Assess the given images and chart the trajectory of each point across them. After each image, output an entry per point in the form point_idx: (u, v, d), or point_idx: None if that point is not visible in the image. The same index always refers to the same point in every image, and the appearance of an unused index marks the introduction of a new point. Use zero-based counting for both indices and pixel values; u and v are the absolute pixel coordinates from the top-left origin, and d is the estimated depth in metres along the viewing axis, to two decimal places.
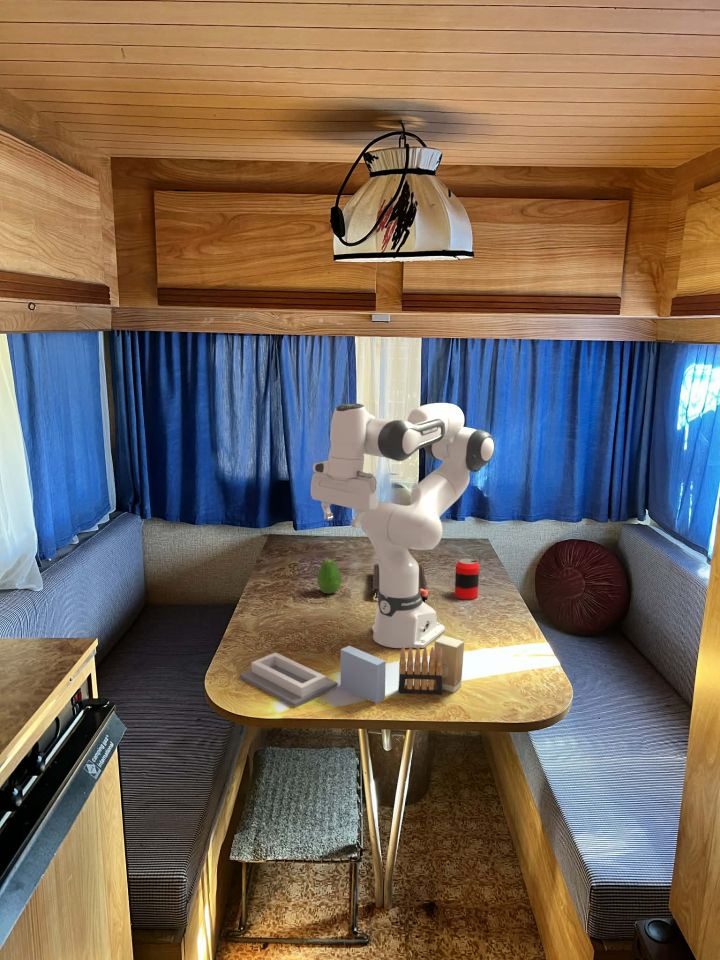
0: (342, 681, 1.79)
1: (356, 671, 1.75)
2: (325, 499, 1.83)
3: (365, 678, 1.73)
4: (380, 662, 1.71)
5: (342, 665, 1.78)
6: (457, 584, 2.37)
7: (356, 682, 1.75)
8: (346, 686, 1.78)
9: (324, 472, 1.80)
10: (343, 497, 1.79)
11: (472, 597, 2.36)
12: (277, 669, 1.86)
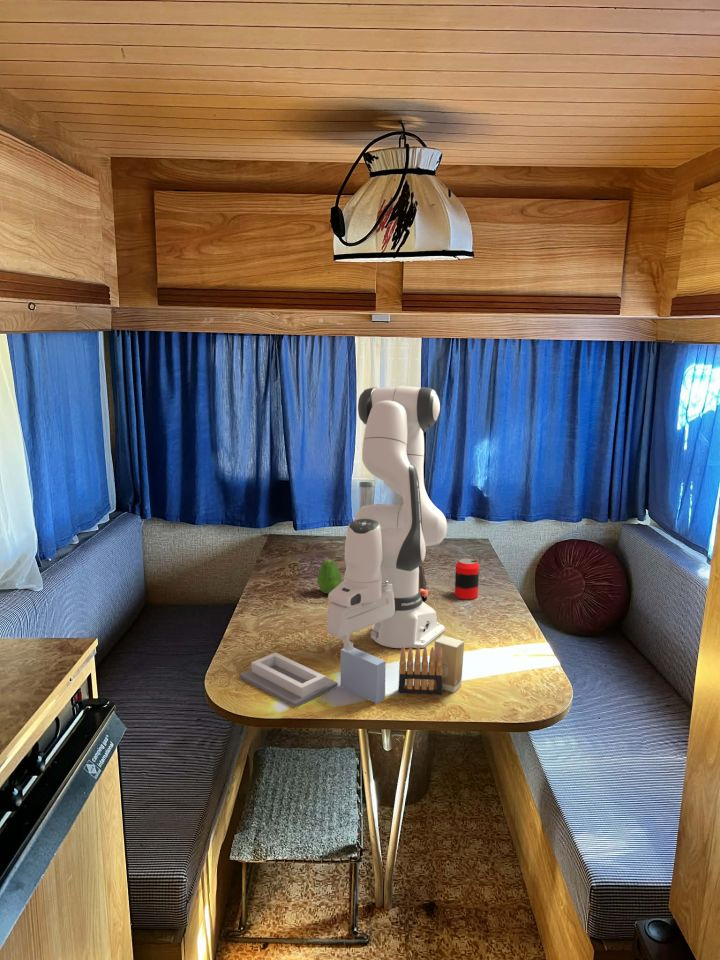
0: (341, 681, 1.79)
1: (356, 671, 1.75)
2: (355, 629, 1.68)
3: (365, 678, 1.73)
4: (380, 662, 1.71)
5: (342, 665, 1.78)
6: (457, 584, 2.37)
7: (356, 682, 1.75)
8: (346, 686, 1.78)
9: (363, 601, 1.66)
10: (372, 616, 1.72)
11: (472, 597, 2.36)
12: (277, 669, 1.86)
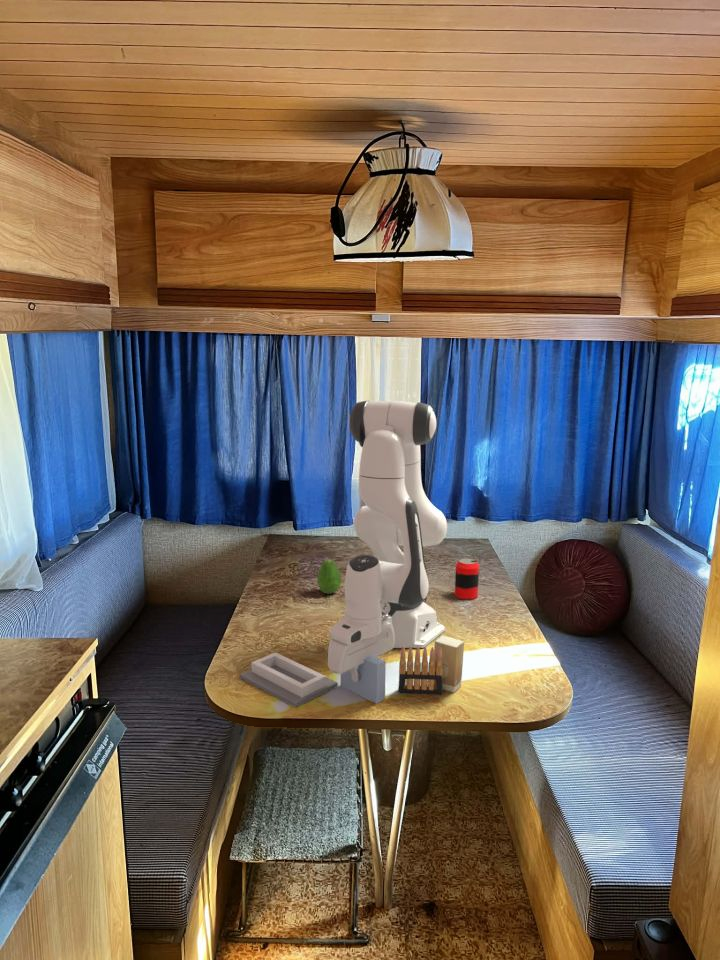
0: (342, 681, 1.79)
1: None
2: (355, 664, 1.70)
3: (365, 678, 1.73)
4: (380, 662, 1.71)
5: None
6: (457, 584, 2.37)
7: (356, 682, 1.75)
8: (346, 686, 1.78)
9: (363, 638, 1.68)
10: (372, 650, 1.74)
11: (472, 597, 2.36)
12: (277, 669, 1.86)
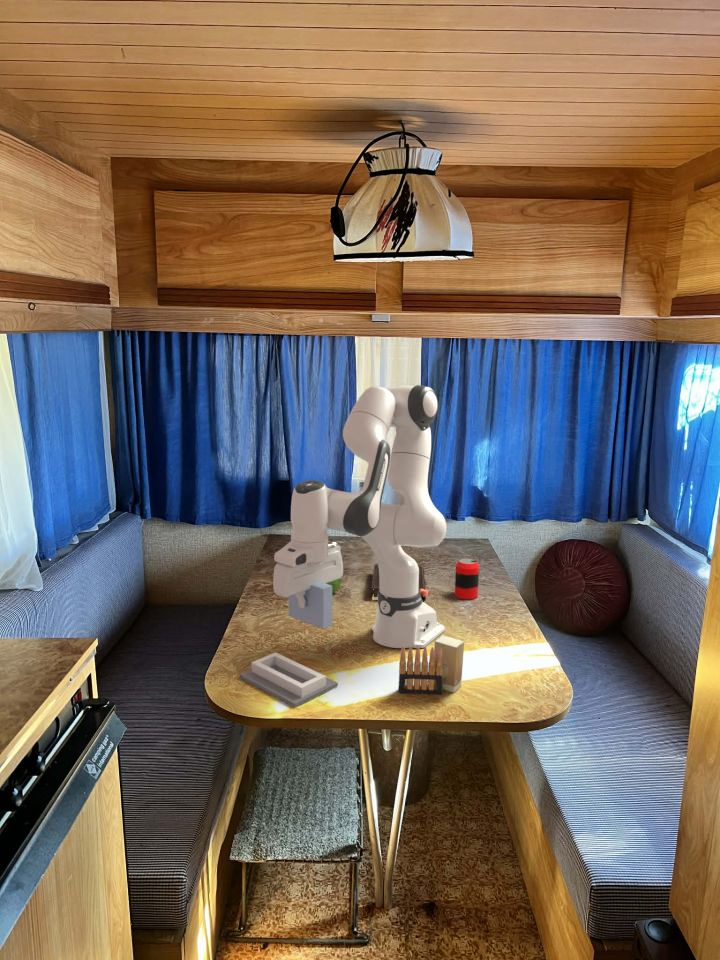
0: (290, 610, 1.78)
1: None
2: (301, 589, 1.69)
3: (312, 604, 1.72)
4: (327, 586, 1.70)
5: None
6: (457, 584, 2.37)
7: (304, 609, 1.74)
8: (294, 614, 1.77)
9: (308, 561, 1.67)
10: (319, 577, 1.73)
11: (472, 597, 2.36)
12: (277, 669, 1.86)
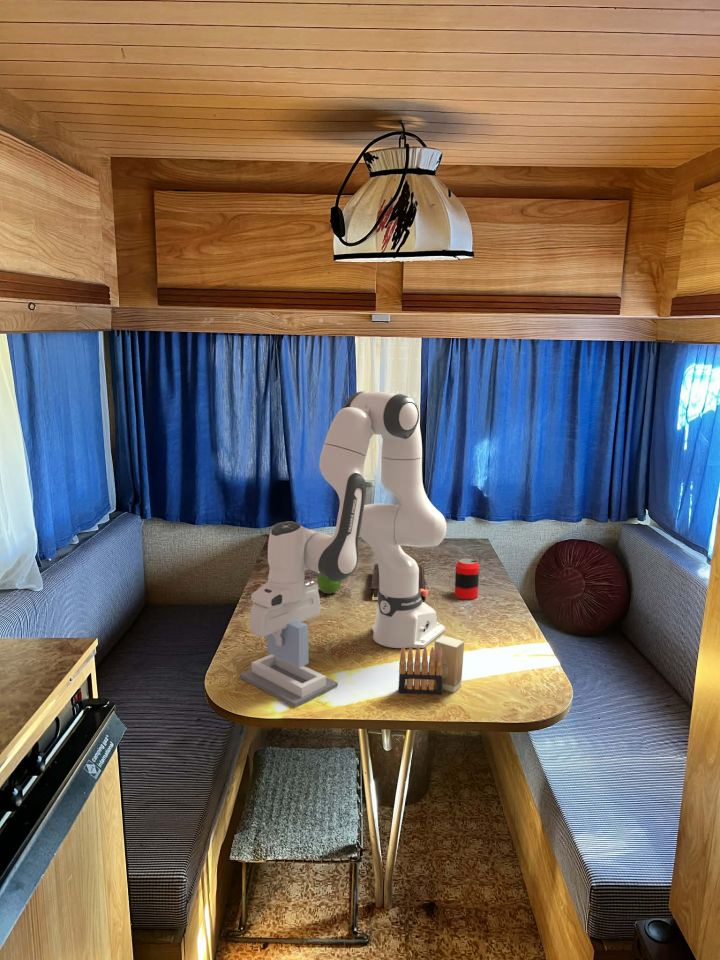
0: (268, 647, 1.82)
1: None
2: (278, 628, 1.73)
3: (288, 642, 1.76)
4: (303, 626, 1.74)
5: None
6: (457, 584, 2.37)
7: (281, 647, 1.78)
8: (272, 651, 1.81)
9: (284, 602, 1.71)
10: (296, 616, 1.77)
11: (472, 597, 2.36)
12: (277, 669, 1.86)
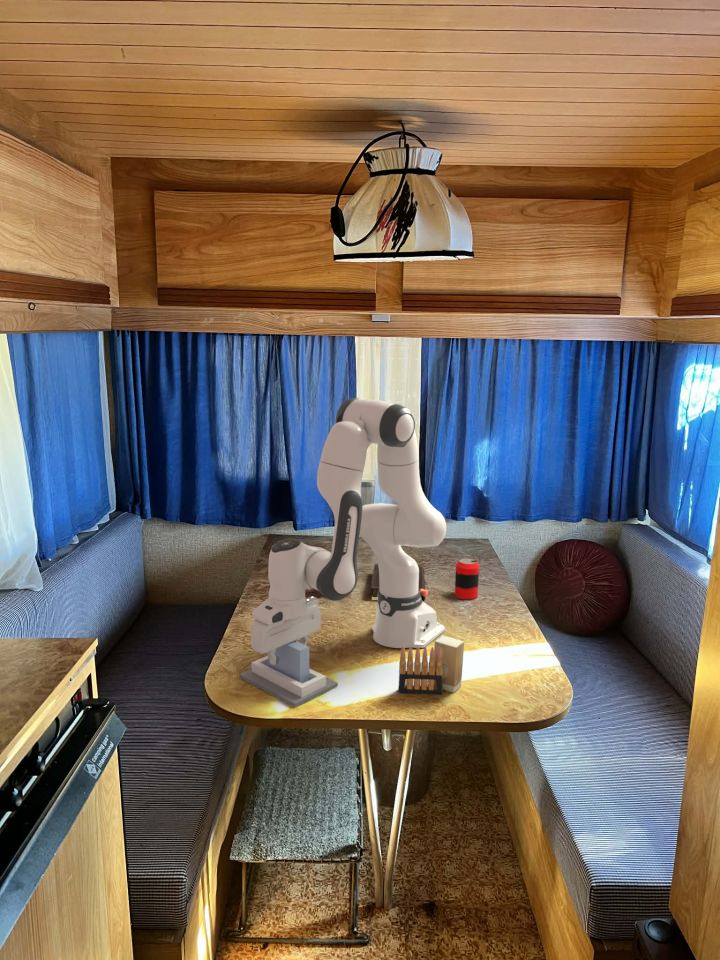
0: None
1: (281, 657, 1.79)
2: (279, 644, 1.74)
3: (289, 663, 1.77)
4: (303, 648, 1.75)
5: None
6: (457, 584, 2.37)
7: (282, 668, 1.80)
8: None
9: (285, 618, 1.72)
10: (297, 631, 1.78)
11: (472, 597, 2.36)
12: None
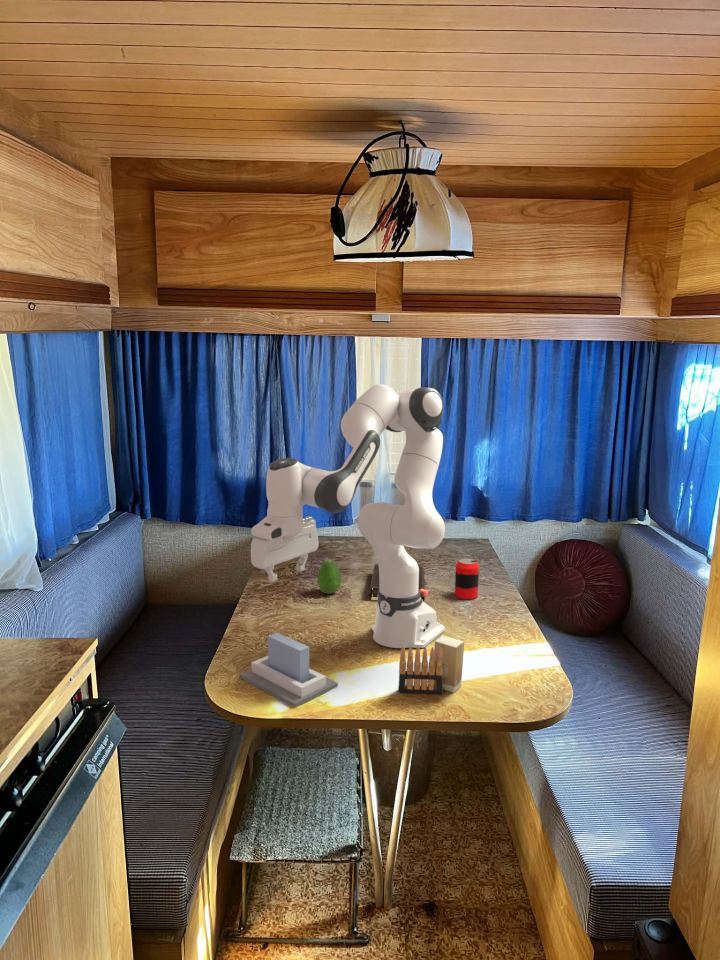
0: None
1: (281, 657, 1.79)
2: (278, 561, 1.79)
3: (289, 663, 1.77)
4: (303, 648, 1.75)
5: (269, 651, 1.82)
6: (457, 584, 2.37)
7: (282, 668, 1.80)
8: None
9: (284, 534, 1.76)
10: (295, 549, 1.83)
11: (472, 597, 2.36)
12: None
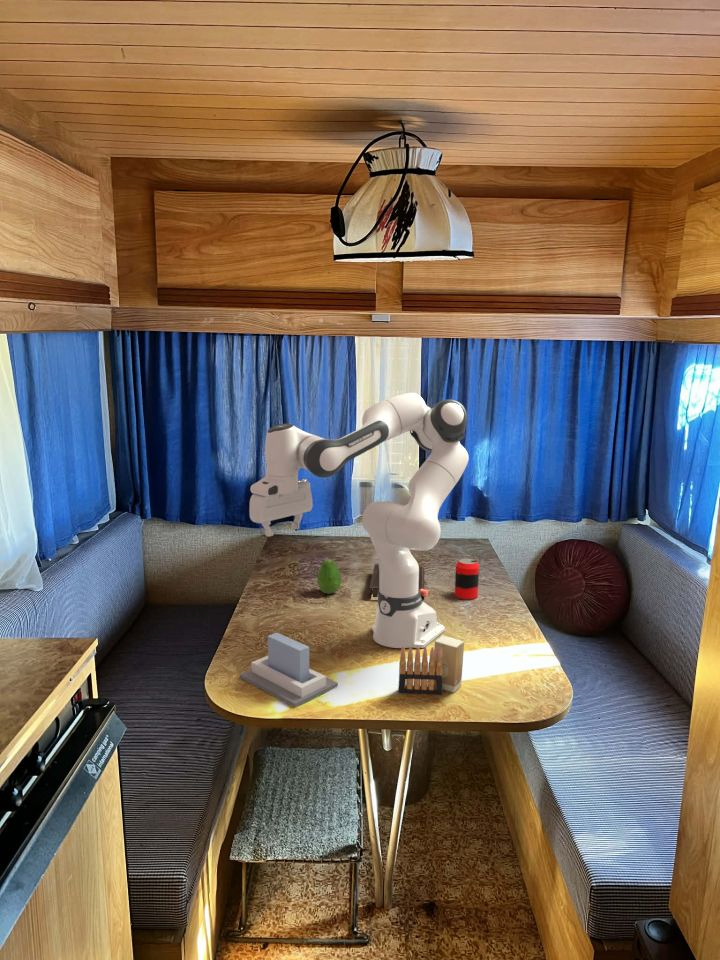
0: None
1: (281, 657, 1.79)
2: (274, 517, 1.95)
3: (289, 663, 1.77)
4: (303, 648, 1.75)
5: (269, 651, 1.82)
6: (457, 584, 2.37)
7: (282, 668, 1.80)
8: None
9: (280, 492, 1.93)
10: (290, 508, 1.99)
11: (472, 597, 2.36)
12: None
